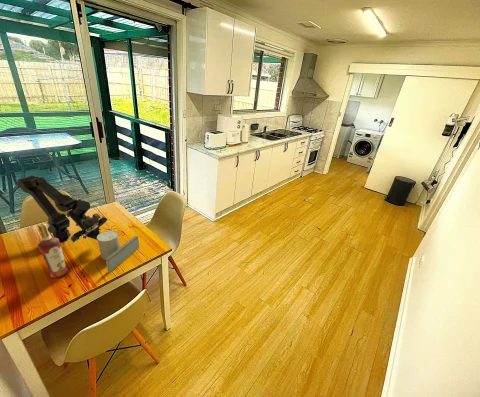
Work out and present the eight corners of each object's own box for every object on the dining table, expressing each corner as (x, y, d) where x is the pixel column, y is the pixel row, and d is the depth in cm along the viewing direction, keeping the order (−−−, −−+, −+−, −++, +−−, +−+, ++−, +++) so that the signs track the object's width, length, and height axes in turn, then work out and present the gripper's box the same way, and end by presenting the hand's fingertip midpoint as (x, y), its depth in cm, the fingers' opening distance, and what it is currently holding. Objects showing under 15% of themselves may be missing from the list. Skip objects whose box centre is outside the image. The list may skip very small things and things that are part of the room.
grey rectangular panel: (108, 271, 111) (105, 259, 108) (137, 246, 129) (135, 235, 126) (110, 272, 111) (108, 260, 108) (139, 247, 129) (137, 236, 126)
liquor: (64, 266, 112) (48, 218, 99) (72, 272, 109) (56, 224, 96) (47, 275, 106) (27, 226, 93) (55, 282, 103) (35, 232, 90)
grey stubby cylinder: (101, 261, 116) (96, 243, 111) (101, 250, 124) (97, 232, 118) (121, 257, 121) (118, 238, 115) (120, 246, 128) (117, 228, 123)
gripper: (69, 220, 106) (92, 245, 108) (101, 203, 122) (121, 225, 124) (60, 230, 111) (83, 253, 113) (93, 213, 127) (112, 233, 130)
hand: (101, 240), depth 120 cm, fingers closed, pressing on grey stubby cylinder
